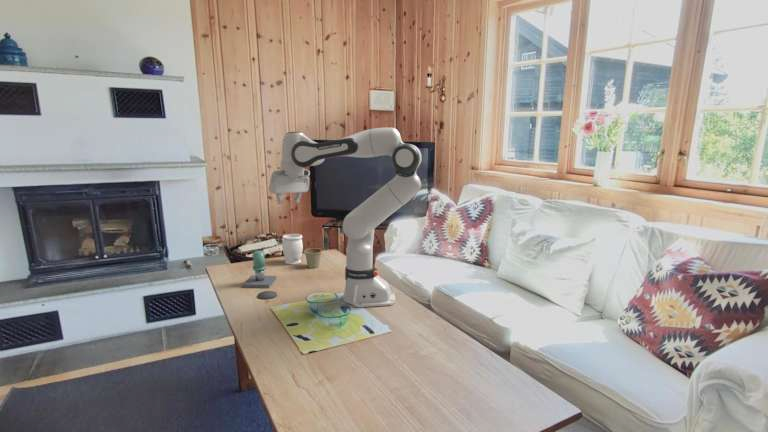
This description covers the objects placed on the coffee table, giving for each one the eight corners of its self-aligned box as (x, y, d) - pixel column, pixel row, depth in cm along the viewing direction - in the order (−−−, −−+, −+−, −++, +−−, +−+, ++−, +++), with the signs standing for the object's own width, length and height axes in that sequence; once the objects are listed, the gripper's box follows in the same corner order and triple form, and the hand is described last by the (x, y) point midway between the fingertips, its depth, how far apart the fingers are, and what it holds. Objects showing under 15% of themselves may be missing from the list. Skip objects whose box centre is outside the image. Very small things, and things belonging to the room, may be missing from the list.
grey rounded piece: (266, 277, 198) (265, 266, 197) (262, 282, 192) (261, 271, 191) (257, 277, 198) (257, 266, 197) (253, 282, 192) (252, 270, 191)
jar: (307, 261, 228) (306, 235, 225) (293, 266, 220) (292, 239, 217) (293, 258, 234) (292, 232, 231) (279, 263, 225) (278, 236, 222)
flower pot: (301, 268, 217) (301, 252, 215) (307, 263, 226) (307, 247, 224) (319, 269, 215) (318, 253, 213) (324, 264, 224) (324, 248, 223)
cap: (267, 266, 197) (266, 250, 195) (263, 270, 191) (262, 254, 190) (255, 266, 197) (254, 250, 195) (251, 270, 191) (250, 253, 190)
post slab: (276, 278, 201) (276, 275, 201) (268, 287, 189) (268, 284, 189) (251, 278, 202) (251, 275, 201) (242, 287, 190) (242, 284, 189)
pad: (279, 292, 184) (279, 291, 184) (273, 299, 177) (273, 298, 176) (261, 292, 185) (261, 290, 184) (255, 299, 177) (255, 297, 177)
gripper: (278, 171, 164) (275, 206, 167) (312, 171, 182) (309, 203, 184) (266, 169, 167) (264, 203, 170) (302, 169, 185) (299, 200, 187)
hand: (288, 203), depth 177 cm, fingers open, 8 cm apart
